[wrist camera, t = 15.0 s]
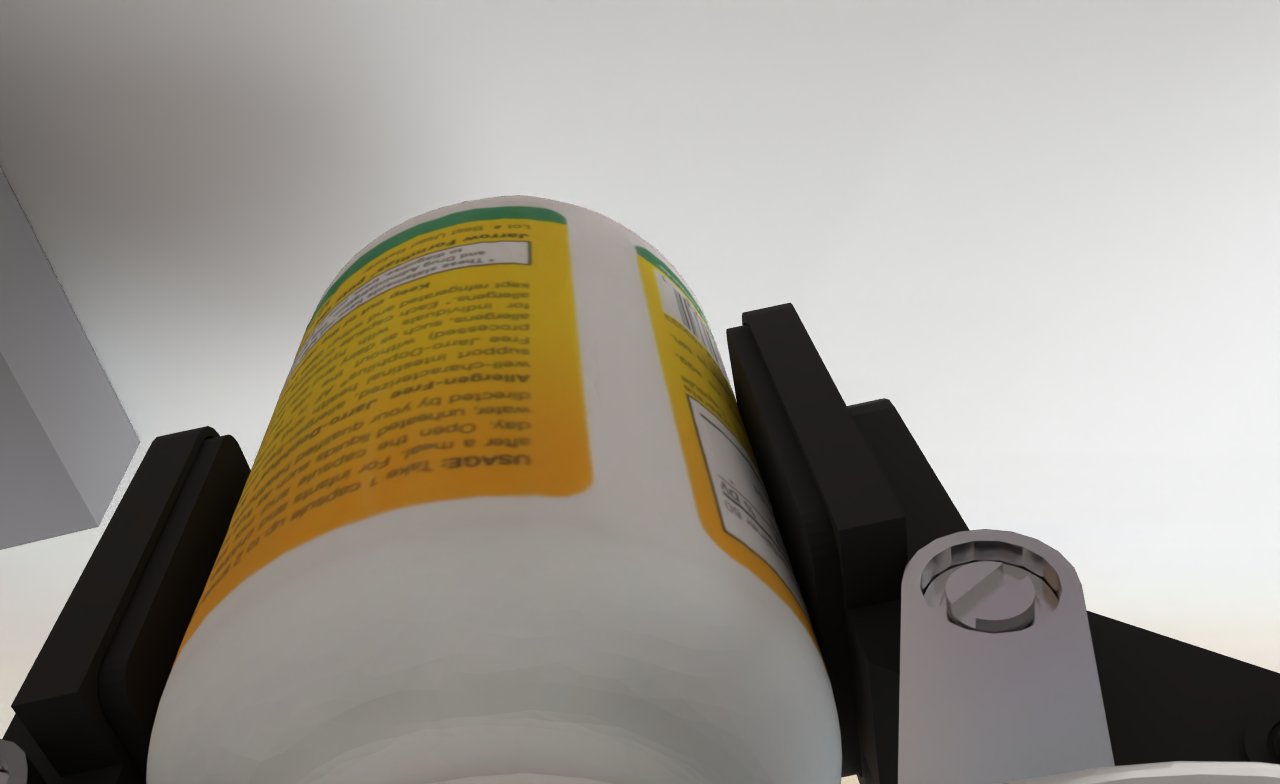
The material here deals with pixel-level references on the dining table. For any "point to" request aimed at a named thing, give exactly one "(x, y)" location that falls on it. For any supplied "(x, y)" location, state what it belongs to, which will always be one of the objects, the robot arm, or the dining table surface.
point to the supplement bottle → (502, 537)
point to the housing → (50, 400)
